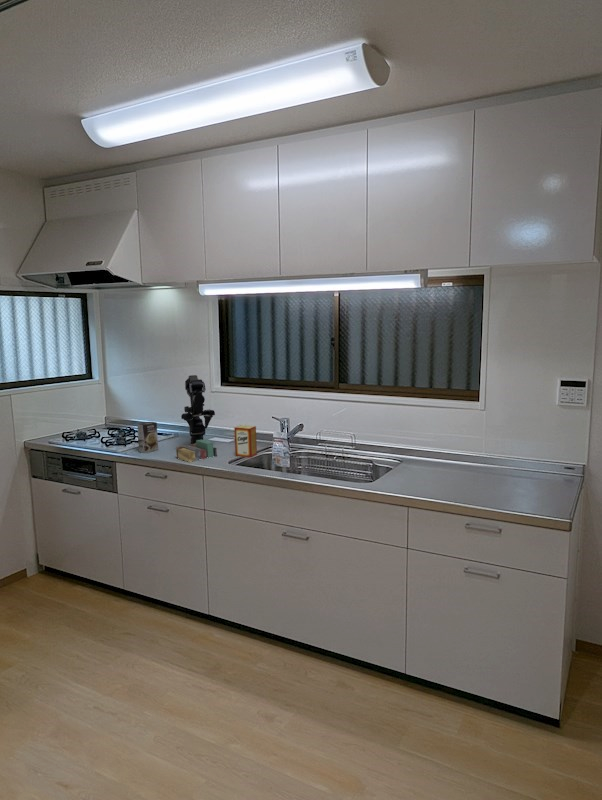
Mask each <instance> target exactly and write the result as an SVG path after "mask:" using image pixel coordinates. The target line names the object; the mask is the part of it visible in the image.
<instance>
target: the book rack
mask: <svg viewBox="0 0 602 800" xmlns="http://www.w3.org/2000/svg"><path fill="white" fill-rule="evenodd" d="M175 449H176V451H175V452H176V459H177V458H179V459H178V460H180V459H182V460H181V461H183V460H185V461H184V462H186V461H188V462H187V463H189V462H190V463H193V462H192V461H194V462H196V461H195V460H198V461H200V460H199V459H203V460H205V459H204V458H207V457H206V450H203V449H200V448H196V443H195V444H191V443H190V444H187V445H183V446H177V447H176V448H175ZM213 453H214V457H217V456H218V453H217V447H214V446H213ZM207 459H208V458H207Z"/></svg>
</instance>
